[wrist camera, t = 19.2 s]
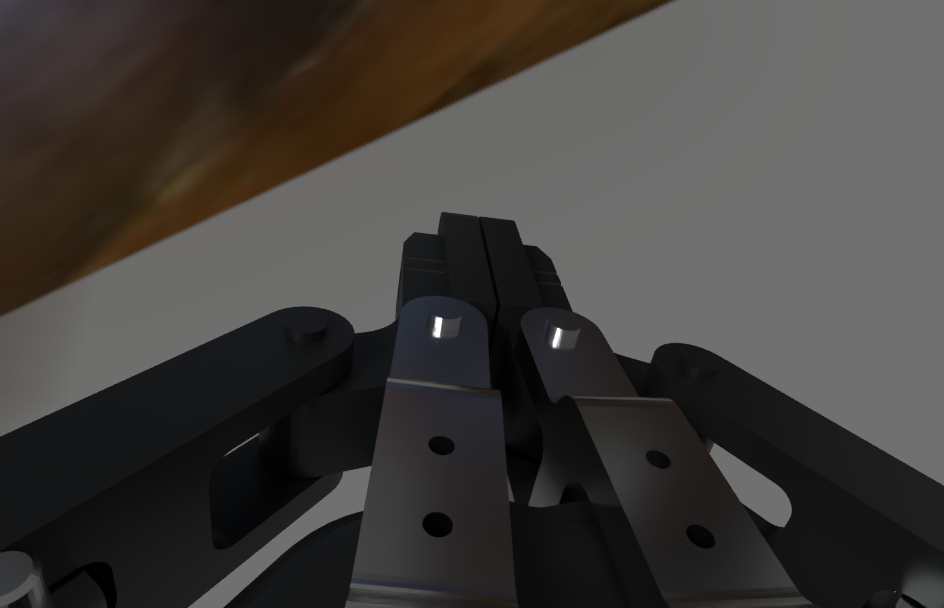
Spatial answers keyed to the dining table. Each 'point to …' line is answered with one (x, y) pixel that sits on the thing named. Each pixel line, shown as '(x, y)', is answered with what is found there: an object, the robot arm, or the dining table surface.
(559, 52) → the dining table surface
